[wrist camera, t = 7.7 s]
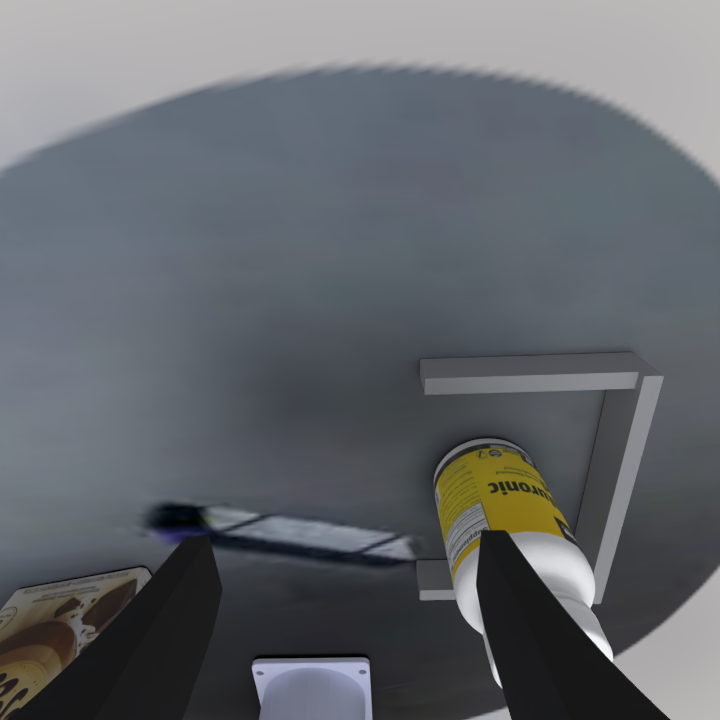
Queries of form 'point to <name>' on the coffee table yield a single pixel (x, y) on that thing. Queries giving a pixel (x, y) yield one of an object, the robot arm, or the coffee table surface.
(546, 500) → the supplement bottle
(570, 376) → the rail
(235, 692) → the coffee table surface
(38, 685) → the coffee box
